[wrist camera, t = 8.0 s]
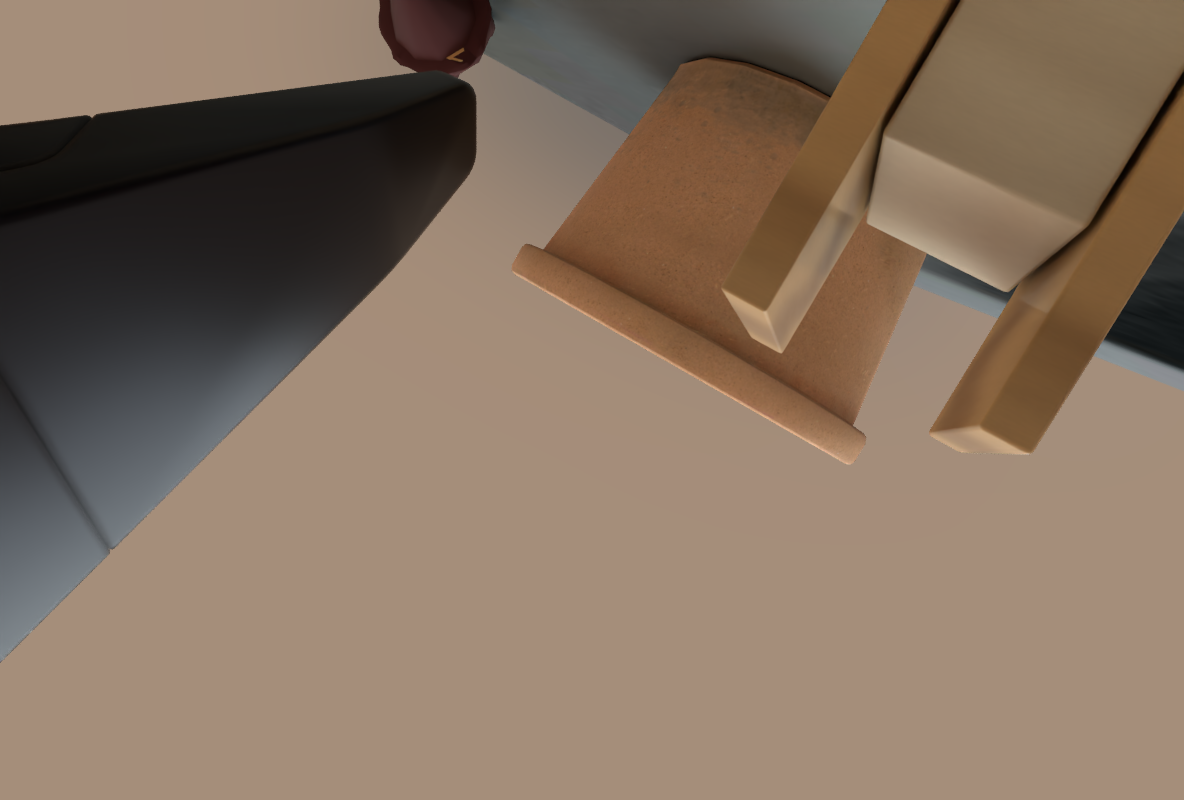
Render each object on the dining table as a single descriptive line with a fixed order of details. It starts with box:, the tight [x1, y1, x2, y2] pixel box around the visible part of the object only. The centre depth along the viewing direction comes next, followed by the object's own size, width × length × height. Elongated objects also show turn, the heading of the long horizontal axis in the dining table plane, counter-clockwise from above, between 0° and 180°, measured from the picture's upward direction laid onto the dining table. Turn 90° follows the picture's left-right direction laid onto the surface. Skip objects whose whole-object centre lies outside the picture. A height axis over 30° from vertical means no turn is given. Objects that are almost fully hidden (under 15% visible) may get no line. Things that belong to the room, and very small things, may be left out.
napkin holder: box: [721, 0, 1184, 455], centre depth 15 cm, size 6×5×13 cm
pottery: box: [512, 57, 927, 464], centre depth 49 cm, size 22×22×14 cm
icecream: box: [379, 0, 495, 78], centre depth 53 cm, size 7×7×15 cm
